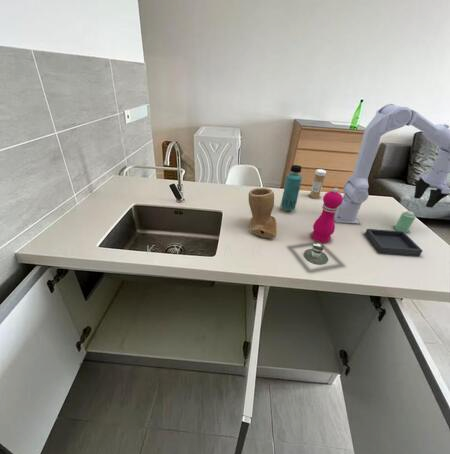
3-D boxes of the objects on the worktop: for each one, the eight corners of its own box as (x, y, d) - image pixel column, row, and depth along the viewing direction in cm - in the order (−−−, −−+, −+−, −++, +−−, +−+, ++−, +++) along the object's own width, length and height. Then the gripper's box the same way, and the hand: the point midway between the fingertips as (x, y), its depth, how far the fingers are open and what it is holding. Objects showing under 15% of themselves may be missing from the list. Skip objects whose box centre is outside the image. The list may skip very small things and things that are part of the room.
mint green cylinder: (398, 232, 95) (407, 215, 91) (392, 226, 99) (401, 209, 95) (409, 233, 95) (419, 215, 91) (403, 227, 99) (412, 210, 95)
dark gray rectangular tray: (379, 253, 83) (382, 247, 82) (364, 234, 93) (366, 228, 92) (419, 256, 83) (422, 250, 82) (400, 236, 93) (403, 231, 92)
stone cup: (247, 215, 100) (250, 182, 93) (276, 219, 99) (282, 185, 91) (242, 236, 88) (246, 199, 80) (275, 241, 86) (282, 204, 78)
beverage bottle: (278, 211, 105) (286, 166, 95) (281, 205, 110) (289, 162, 100) (293, 215, 103) (304, 169, 93) (295, 208, 108) (305, 164, 98)
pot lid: (341, 265, 77) (346, 253, 74) (309, 271, 74) (313, 259, 71) (319, 243, 87) (322, 231, 84) (289, 247, 83) (292, 235, 81)
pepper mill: (306, 234, 91) (320, 185, 80) (321, 230, 94) (336, 182, 83) (319, 245, 85) (336, 194, 75) (335, 241, 88) (353, 191, 78)
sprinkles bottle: (321, 197, 120) (328, 171, 112) (315, 199, 117) (322, 172, 110) (313, 193, 123) (320, 168, 116) (307, 195, 120) (314, 169, 113)
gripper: (467, 177, 83) (446, 212, 90) (437, 164, 96) (421, 195, 103) (446, 176, 83) (426, 210, 90) (419, 162, 96) (404, 194, 103)
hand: (422, 202), depth 97 cm, fingers open, 7 cm apart
